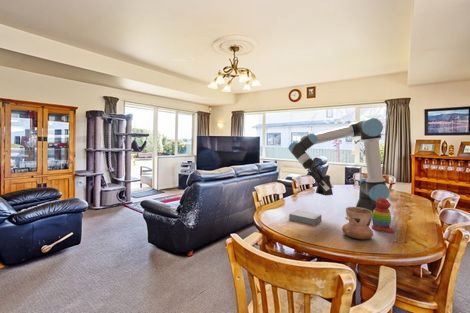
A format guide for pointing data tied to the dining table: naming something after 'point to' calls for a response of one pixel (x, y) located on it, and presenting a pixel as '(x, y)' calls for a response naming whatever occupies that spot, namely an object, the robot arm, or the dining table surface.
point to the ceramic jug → (358, 223)
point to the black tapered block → (327, 180)
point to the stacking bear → (382, 216)
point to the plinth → (305, 217)
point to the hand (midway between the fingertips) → (329, 188)
